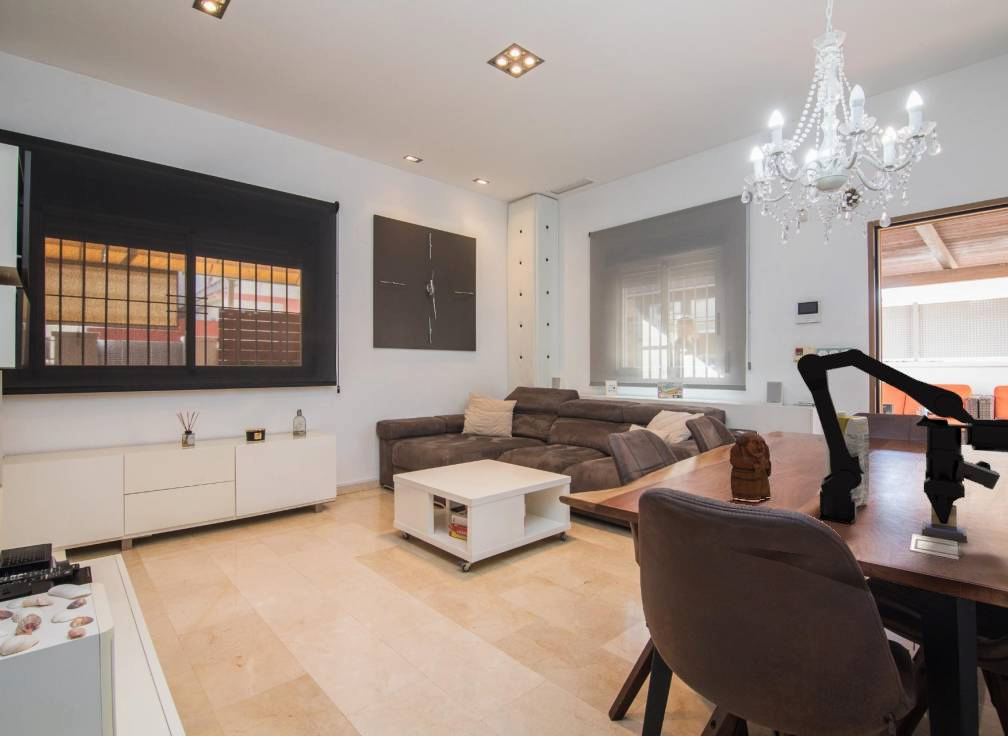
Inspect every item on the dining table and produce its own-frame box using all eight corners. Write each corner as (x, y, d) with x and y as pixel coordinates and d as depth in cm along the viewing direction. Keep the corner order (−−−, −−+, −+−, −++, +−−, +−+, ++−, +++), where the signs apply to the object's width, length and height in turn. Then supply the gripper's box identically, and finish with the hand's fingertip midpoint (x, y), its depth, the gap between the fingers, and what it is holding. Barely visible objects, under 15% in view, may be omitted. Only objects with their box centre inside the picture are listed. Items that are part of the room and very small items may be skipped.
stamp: (931, 526, 106) (931, 496, 106) (931, 522, 109) (931, 493, 109) (956, 530, 104) (956, 499, 104) (956, 526, 107) (956, 496, 107)
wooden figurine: (749, 505, 130) (748, 435, 130) (727, 499, 135) (727, 432, 135) (776, 498, 135) (776, 432, 135) (754, 493, 141) (754, 430, 141)
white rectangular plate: (910, 550, 97) (910, 549, 97) (912, 534, 106) (912, 533, 106) (961, 560, 92) (961, 558, 92) (959, 542, 101) (959, 541, 101)
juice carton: (839, 497, 136) (839, 409, 136) (872, 504, 129) (872, 412, 129) (821, 502, 132) (820, 411, 132) (854, 509, 125) (854, 413, 125)
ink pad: (922, 534, 106) (922, 526, 106) (922, 526, 112) (922, 519, 112) (966, 541, 102) (966, 534, 102) (965, 533, 107) (965, 525, 107)
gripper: (1000, 458, 94) (1000, 541, 94) (992, 446, 108) (992, 518, 108) (923, 452, 102) (923, 529, 102) (925, 441, 116) (925, 509, 116)
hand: (943, 521), depth 107 cm, fingers closed on stamp, 4 cm apart
